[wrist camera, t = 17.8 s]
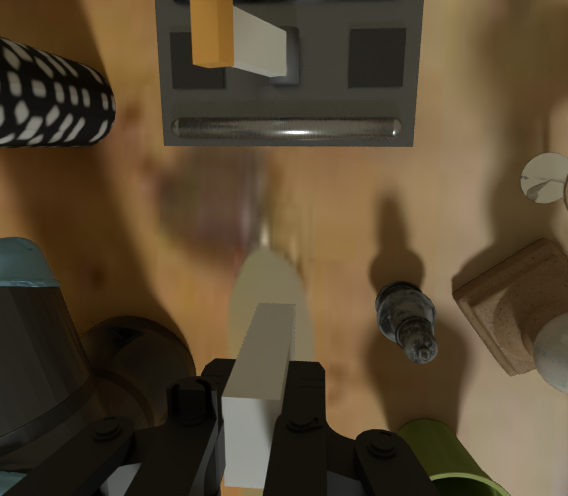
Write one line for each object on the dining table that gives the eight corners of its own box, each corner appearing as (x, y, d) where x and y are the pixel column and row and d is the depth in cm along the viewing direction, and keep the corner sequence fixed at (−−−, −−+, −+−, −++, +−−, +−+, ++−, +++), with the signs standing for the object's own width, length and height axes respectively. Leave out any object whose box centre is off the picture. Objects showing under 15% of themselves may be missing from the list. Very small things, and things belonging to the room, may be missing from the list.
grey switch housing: (184, 145, 44) (156, 145, 36) (177, -5, 41) (144, -39, 33) (400, 146, 42) (417, 146, 35) (410, -11, 39) (432, -48, 31)
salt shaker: (439, 298, 46) (479, 351, 34) (404, 339, 47) (431, 403, 35) (395, 268, 45) (420, 311, 34) (361, 309, 47) (375, 364, 35)
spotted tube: (46, 148, 45) (-158, 152, 26) (32, 65, 43) (-201, 2, 24) (120, 144, 45) (-34, 146, 25) (109, 60, 43) (-67, -10, 23)
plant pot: (434, 501, 52) (464, 597, 41) (355, 451, 51) (363, 535, 40) (499, 435, 49) (550, 519, 38) (416, 380, 48) (443, 450, 37)
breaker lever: (278, 86, 36) (190, 64, 26) (278, 34, 35) (187, -7, 25) (303, 84, 35) (221, 61, 25) (304, 31, 34) (219, -14, 24)
